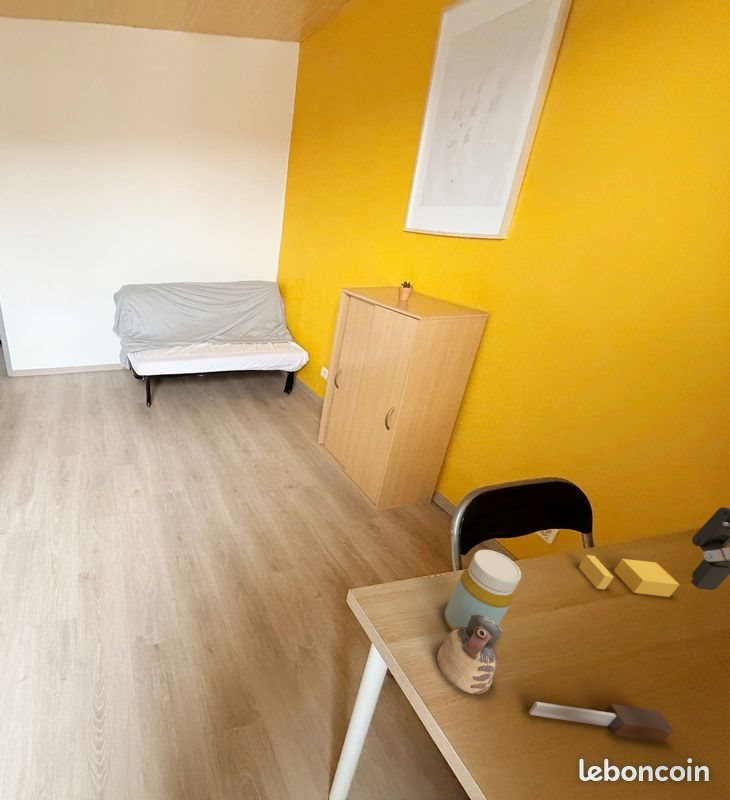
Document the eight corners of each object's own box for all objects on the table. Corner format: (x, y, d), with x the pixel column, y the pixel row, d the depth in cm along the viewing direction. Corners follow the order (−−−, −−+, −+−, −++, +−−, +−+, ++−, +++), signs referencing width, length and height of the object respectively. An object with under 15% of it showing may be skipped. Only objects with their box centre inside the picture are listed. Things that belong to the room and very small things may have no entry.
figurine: (497, 679, 63) (528, 629, 57) (473, 706, 59) (504, 656, 54) (450, 640, 68) (475, 591, 63) (426, 663, 65) (449, 614, 59)
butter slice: (585, 570, 82) (594, 555, 80) (603, 591, 77) (614, 577, 76) (576, 569, 82) (586, 554, 80) (595, 590, 78) (605, 576, 76)
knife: (645, 724, 58) (658, 710, 56) (659, 744, 56) (674, 731, 54) (522, 706, 60) (532, 692, 58) (532, 725, 58) (542, 711, 56)
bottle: (433, 616, 72) (461, 555, 65) (461, 602, 75) (490, 542, 68) (471, 653, 66) (505, 590, 59) (499, 637, 69) (535, 575, 62)
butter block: (645, 576, 81) (656, 562, 79) (667, 599, 76) (679, 584, 74) (611, 573, 81) (621, 558, 79) (632, 594, 77) (643, 580, 75)
